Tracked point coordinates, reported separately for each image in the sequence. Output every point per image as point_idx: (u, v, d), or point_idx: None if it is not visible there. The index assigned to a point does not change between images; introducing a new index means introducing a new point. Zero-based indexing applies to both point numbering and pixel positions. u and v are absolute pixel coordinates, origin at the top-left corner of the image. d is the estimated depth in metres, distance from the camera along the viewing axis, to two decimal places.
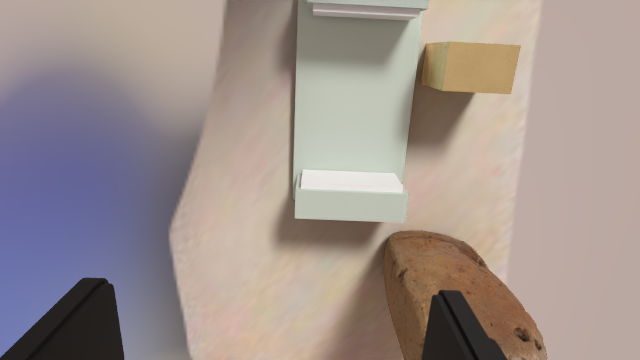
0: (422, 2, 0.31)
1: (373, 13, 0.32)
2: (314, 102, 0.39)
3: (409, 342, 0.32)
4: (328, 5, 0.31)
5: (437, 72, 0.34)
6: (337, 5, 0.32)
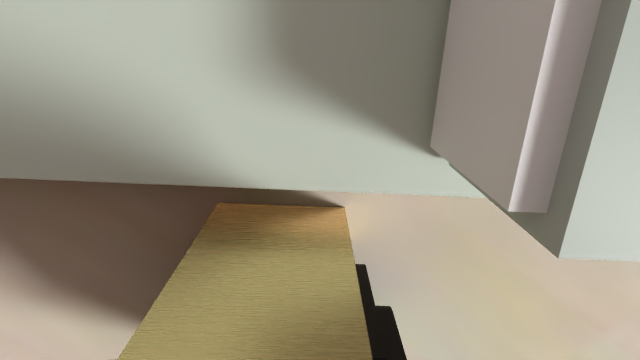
0: (598, 227, 0.05)
1: None
2: None
3: None
4: None
5: (230, 302, 0.07)
6: None
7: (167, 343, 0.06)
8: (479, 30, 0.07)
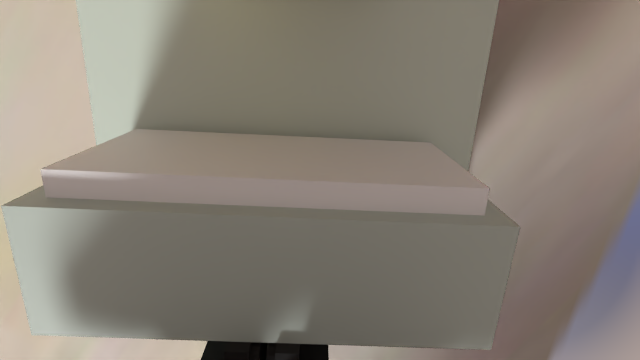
0: (32, 228, 0.07)
1: (238, 179, 0.08)
2: None
3: None
4: (425, 209, 0.08)
5: None
6: (387, 207, 0.08)
7: None
8: (208, 148, 0.10)
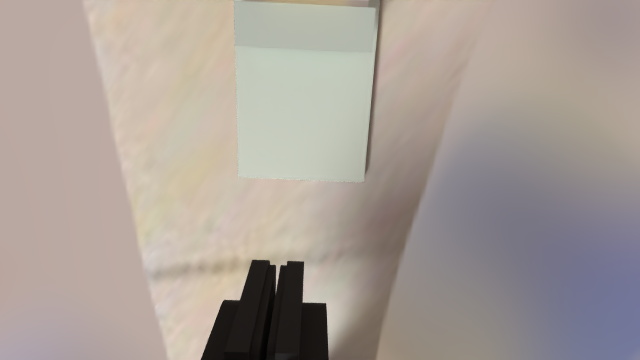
0: (241, 7, 0.27)
1: None
2: None
3: None
4: (350, 5, 0.27)
5: None
6: (339, 5, 0.27)
7: None
8: None
